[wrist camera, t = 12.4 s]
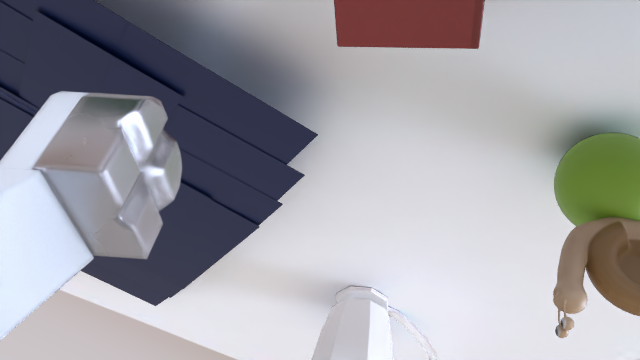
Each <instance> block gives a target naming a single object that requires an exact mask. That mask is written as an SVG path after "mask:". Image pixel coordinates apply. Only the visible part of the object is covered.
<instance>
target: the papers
mask: <svg viewBox="0 0 640 360" xmlns="http://www.w3.org/2000/svg"><path fill="white" fill-rule="evenodd" d="M60 91H66V92H82V93H106V94H122V95H137V96H152V97H154V98H156V99H158V100H160V101H161V102H162V105H163V107H164V110H165V112H166V114H167V117H168V120H167V122H166V123H165V125H164V127H163V130H164V131H165V132H167V133H168V134H169V135H170V136H171V137H172V138H174V139H175V140H176V141H177V144H178V147H179V150H180V153H181V160H182V174H181V181H180V187H179V189H178V191H177V194H176V196H175V198H174V201H172V202H171V203H170V204H168V205H167V206H166V207H164V208H163V209H161V210H160V211H159V214H160V216H161V219H162V222H163V225H162V227H161V229H160V232H159V234H158V236H157V238H156V240H155V242H154V245H153V247H152V249H151V251H150V253H149V255H148V258H147V259H137V258H123V257H108V256H93V257H94V259H93V260H92V261H91V262H89V263H88V264H87V265H86V266H85V267H84V268H83V269H81V271H83V272H85V273H87V274H89V275H91V276H93V277H95V278H97V279H100V280H102V281H104V282H106V283H108V284H110V285H112V286H114V287H116V288H119V289H121V290H123V291H125V292H127V293H129V294H131V295H133V296H135V297H138V298H140V299H142V300H144V301H146V302H148V303H150V304H152V305H154V306H157V305H158V304H159V303H161V302H162V301H164V300H165V299H167V298H168V297H170V298H171V297H172V296H174V295H175V294H176V293H178V292H179V291H180V290H182V289H184V288H185V287H186V286H188V285H189V284H190V283H191V282H192V281H194V280H195V279H196V278H197V277H199V276H200V275H201V274H202V273H204V272H205V271H206V270H207V269H208V268H210V267H211V266H212V265H213V264H215V263H216V262H217V261H218V260H220V259H221V258H222V257H223V256H224V255H226V254H227V253H228V252H229V251H231V250H232V249H233V248H234V247H235V246H237V245H238V244H239V243H240V242H242V241H243V240H244V239H245V238H247V237H248V236H249V235H250V234H251V233H253V232H254V231H255V230H256V229H258V228H259V225H260V224H261V223H262V222H263V221H264V220H265V219H267V218H268V217H269V216H270V215H271V214H272V213H273V212H275V211H276V210H277V209H278V208H279V207H280V206H281V205H283V204H282V203H280V202H278V201H277V200H278V199H280V198H281V197H282V196H283V195H284V194H285V193H286V192H287V191H288V190H289V189H290V188H291V187H292V186H294V185H295V184H296V183H297V182H298V181H299V180H300V179H301V178H302V177H303V176H304V174H302V173H300V172H298V171H296V170H295V169H293V168H291V167H289V166H287V164H288V163H289V162H290V161H291V160H292V159H293V158H294V157H295V156H296V155H297V154H298V153H299V152H300V151H302V150H303V149H304V148H305V147H306V146H307V145H308V144H309V143H310V142H311V141H312V140H313V139H314V138H315V137H316V136H317V135H318V134H316V133H314V132H313V131H311V130H309V129H308V128H306V127H304V126H303V125H301V124H299V123H298V122H296V121H294V120H293V119H291V118H289V117H288V116H286V115H284V114H282V113H281V112H279V111H277V110H276V109H274V108H272V107H271V106H269V105H267V104H266V103H264V102H262V101H261V100H259V99H257V98H256V97H254V96H252V95H251V94H249V93H247V92H245V91H244V90H242V89H240V88H239V87H237V86H235V85H234V84H232V83H230V82H229V81H227V80H225V79H224V78H222V77H220V76H219V75H217V74H215V73H214V72H212V71H210V70H209V69H207V68H205V67H203V66H202V65H200V64H198V63H197V62H195V61H193V60H192V59H190V58H188V57H187V56H185V55H183V54H182V53H180V52H178V51H177V50H175V49H173V48H172V47H170V46H168V45H166V44H165V43H163V42H161V41H160V40H158V39H156V38H155V37H153V36H151V35H150V34H148V33H146V32H145V31H143V30H141V29H140V28H138V27H136V26H135V25H133V24H131V23H129V22H128V21H126V20H125V19H123V18H121V17H120V16H118V15H117V14H115V13H113V12H112V11H110V10H109V9H107V8H105V7H104V6H102V5H100V4H99V3H97V2H96V1H94V0H0V161H1V159H2V158H3V157H4V155H5V154H6V153H7V151H8V150H9V149H10V148H11V146H12V145H13V144H14V142H15V141H16V140H17V138H18V137H19V136H20V135H21V133H22V132H23V131H24V129H25V128H26V127H27V125H28V124H29V123H30V122H31V120H32V119H33V118H34V116H35V115H36V114H37V112H38V111H39V110H40V109H41V107H42V106H43V105H44V103H45V102H46V101H47V99H48V98H49V97H50V96H51V95H53V94H55V93H58V92H60Z"/></svg>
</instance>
